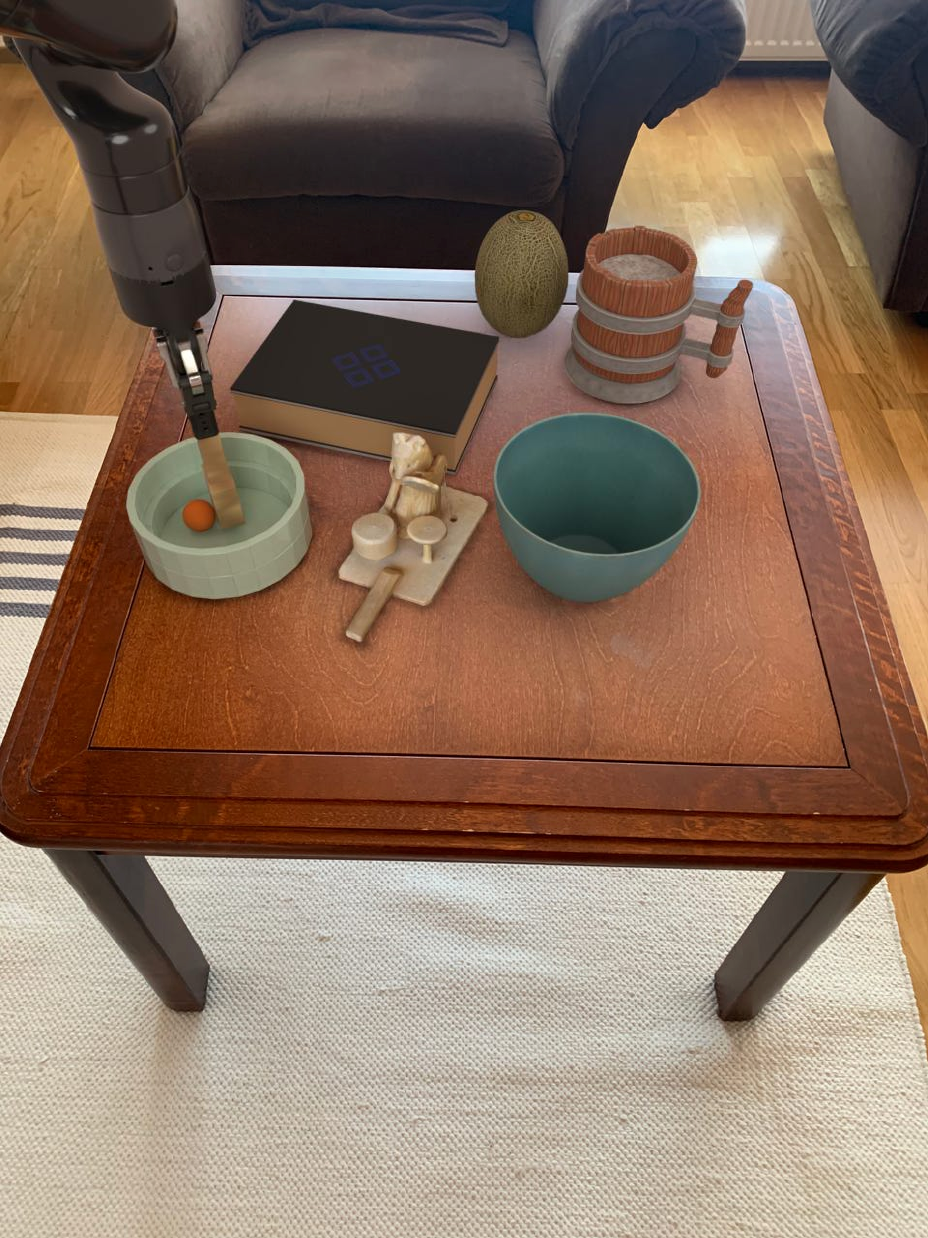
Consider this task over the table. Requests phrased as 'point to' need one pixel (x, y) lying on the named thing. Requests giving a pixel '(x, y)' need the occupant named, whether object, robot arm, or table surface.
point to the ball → (199, 515)
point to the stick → (220, 483)
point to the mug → (643, 317)
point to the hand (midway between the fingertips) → (203, 426)
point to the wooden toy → (409, 533)
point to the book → (366, 382)
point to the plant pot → (593, 503)
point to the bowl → (217, 555)
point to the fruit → (521, 274)
